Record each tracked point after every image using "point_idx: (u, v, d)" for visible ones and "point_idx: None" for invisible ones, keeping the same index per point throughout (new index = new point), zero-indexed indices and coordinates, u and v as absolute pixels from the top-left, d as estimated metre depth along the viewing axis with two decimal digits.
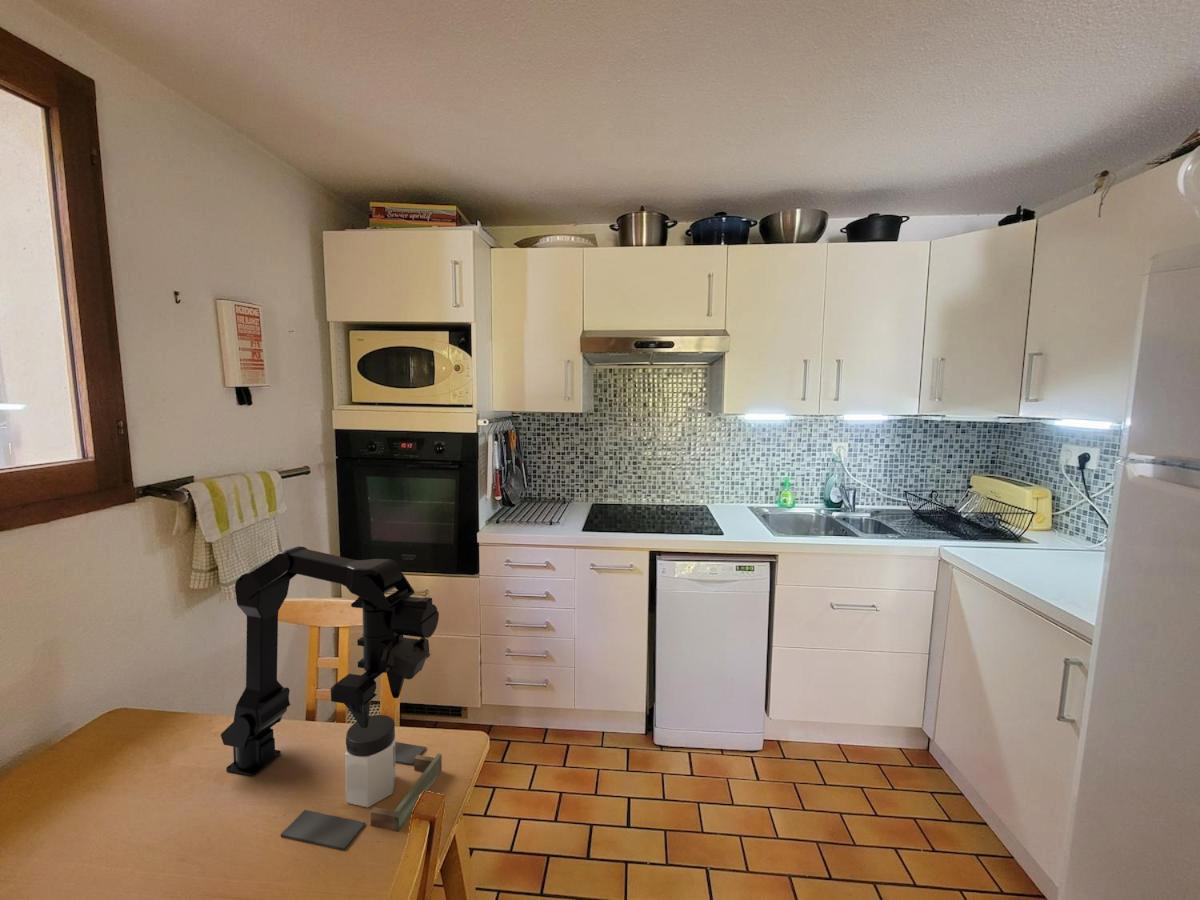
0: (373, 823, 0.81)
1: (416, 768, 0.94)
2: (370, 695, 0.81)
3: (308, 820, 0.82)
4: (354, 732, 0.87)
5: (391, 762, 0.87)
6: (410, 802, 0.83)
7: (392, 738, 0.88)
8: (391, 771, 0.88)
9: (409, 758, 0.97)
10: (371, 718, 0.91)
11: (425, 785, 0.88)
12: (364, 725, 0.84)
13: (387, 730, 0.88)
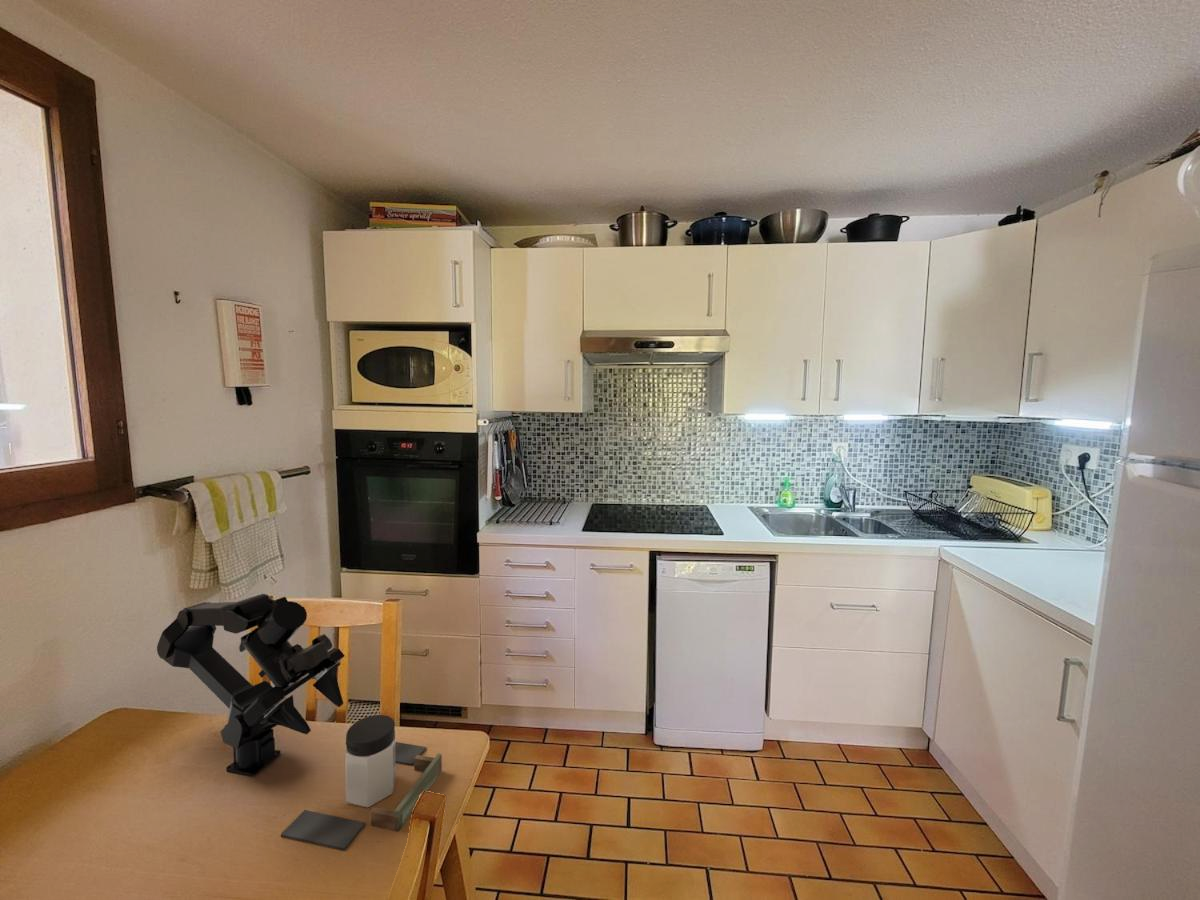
0: (373, 823, 0.81)
1: (416, 768, 0.94)
2: (279, 698, 0.83)
3: (308, 820, 0.82)
4: (354, 732, 0.87)
5: (391, 762, 0.87)
6: (410, 802, 0.83)
7: (392, 738, 0.88)
8: (391, 771, 0.88)
9: (409, 758, 0.97)
10: (371, 718, 0.91)
11: (425, 785, 0.88)
12: (305, 729, 0.86)
13: (387, 730, 0.88)
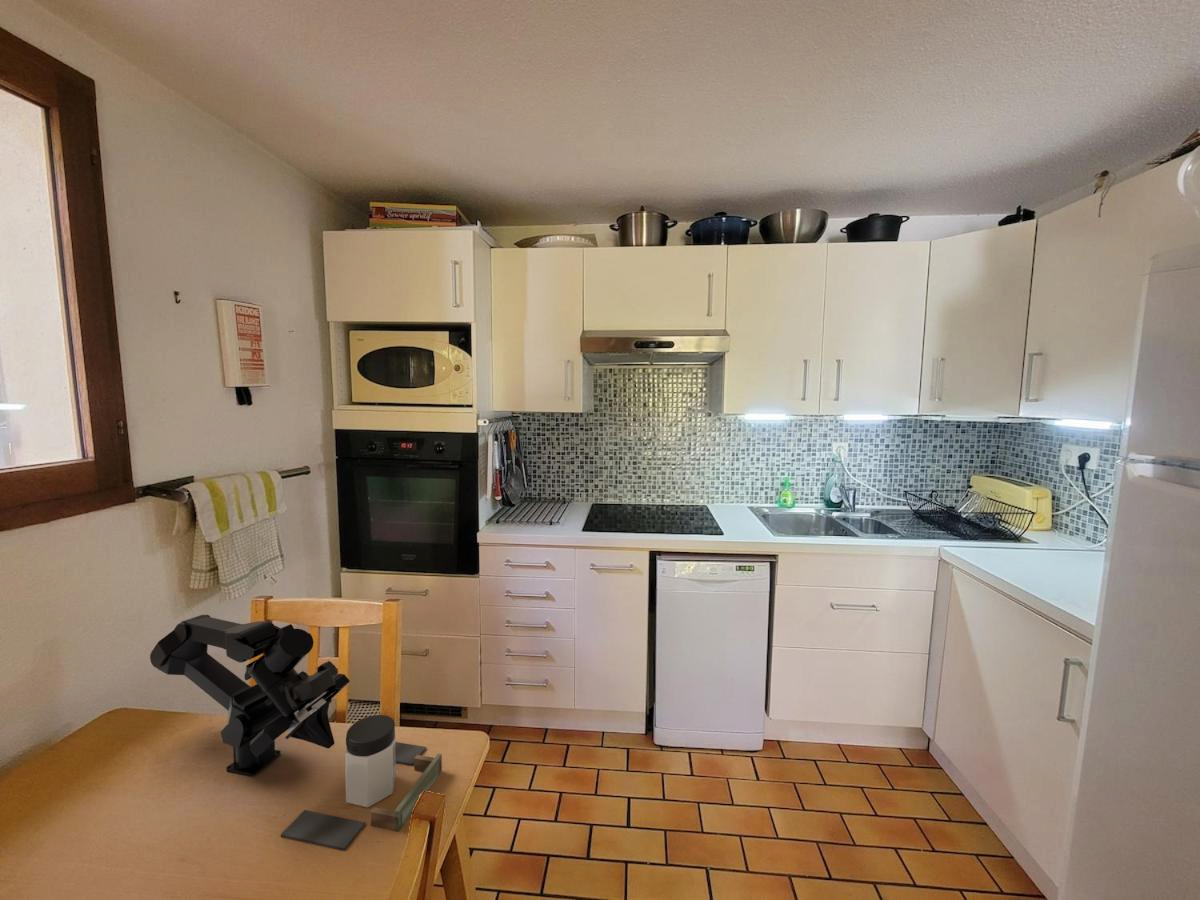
0: (373, 823, 0.81)
1: (416, 768, 0.94)
2: (285, 728, 0.83)
3: (308, 820, 0.82)
4: (354, 732, 0.87)
5: (391, 762, 0.87)
6: (410, 802, 0.83)
7: (392, 738, 0.88)
8: (391, 771, 0.88)
9: (409, 758, 0.97)
10: (371, 718, 0.91)
11: (425, 785, 0.88)
12: (328, 744, 0.89)
13: (387, 730, 0.88)
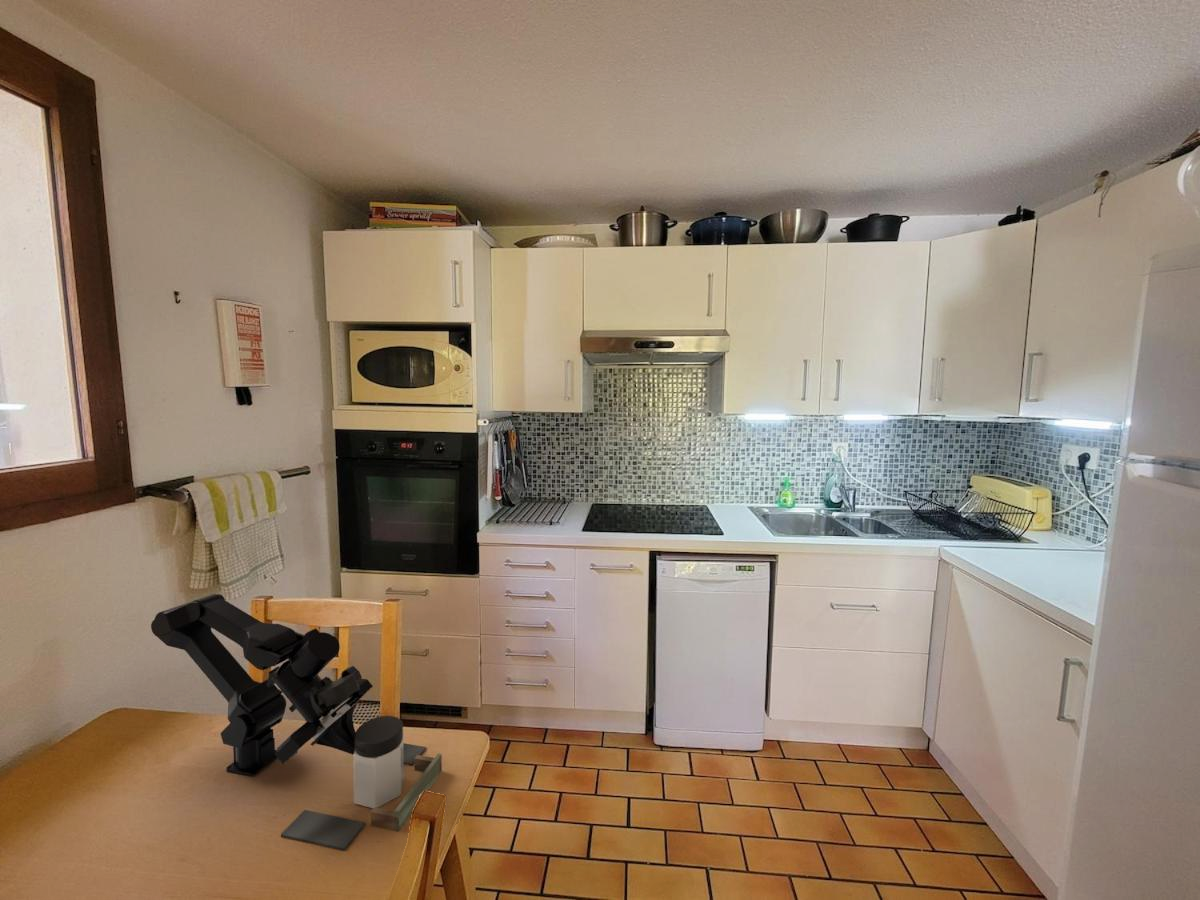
0: (373, 823, 0.81)
1: (416, 768, 0.94)
2: (311, 734, 0.82)
3: (308, 820, 0.82)
4: (362, 733, 0.87)
5: (399, 764, 0.87)
6: (410, 802, 0.83)
7: (400, 740, 0.88)
8: (399, 773, 0.87)
9: (409, 758, 0.97)
10: (379, 719, 0.91)
11: (425, 785, 0.88)
12: (353, 750, 0.88)
13: (395, 731, 0.87)
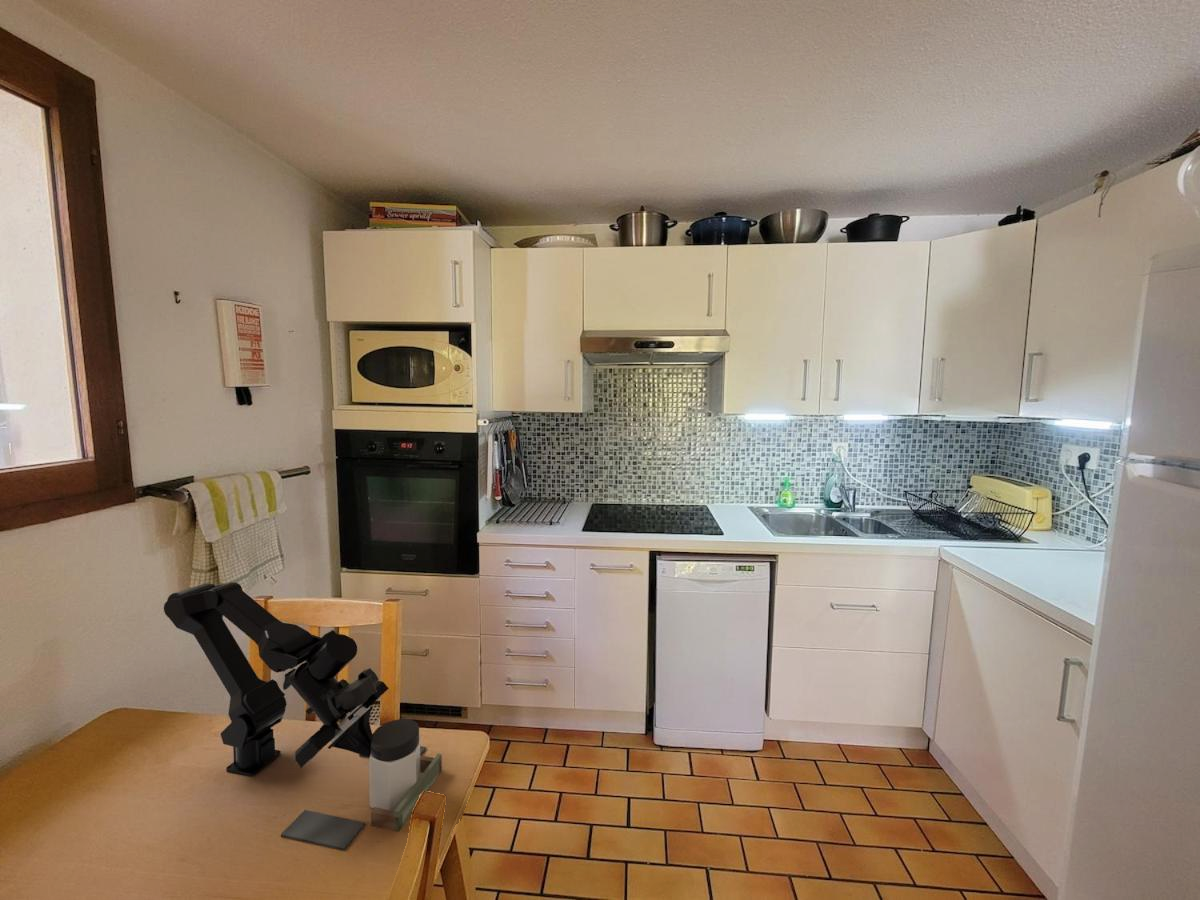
0: (373, 823, 0.81)
1: None
2: (330, 737, 0.82)
3: (308, 820, 0.82)
4: (379, 736, 0.86)
5: (414, 769, 0.86)
6: (410, 802, 0.83)
7: (416, 744, 0.87)
8: (414, 778, 0.86)
9: None
10: (396, 722, 0.90)
11: (425, 785, 0.88)
12: None
13: (411, 736, 0.86)
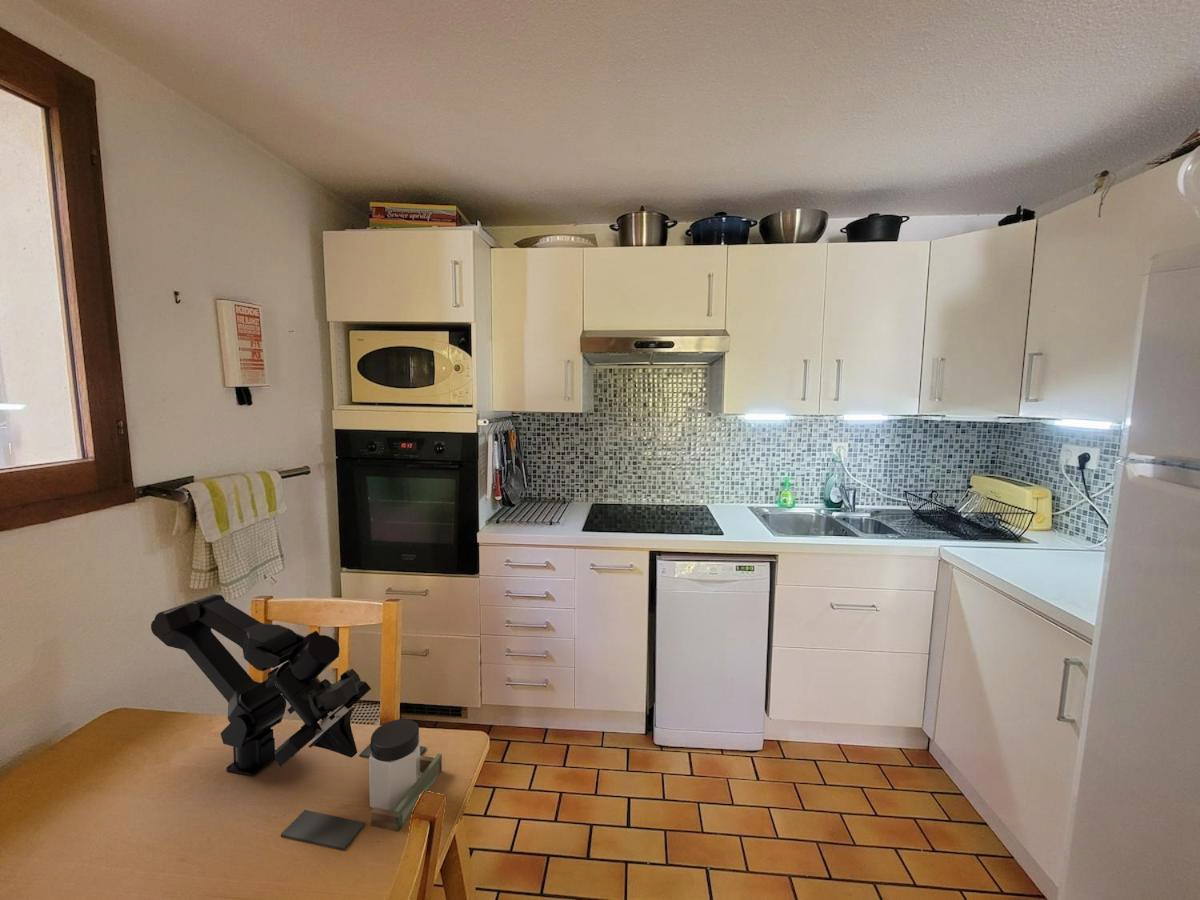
0: (373, 823, 0.81)
1: None
2: (310, 737, 0.83)
3: (308, 820, 0.82)
4: (378, 736, 0.86)
5: (414, 769, 0.86)
6: (410, 802, 0.83)
7: (416, 744, 0.87)
8: (414, 778, 0.86)
9: None
10: (396, 722, 0.90)
11: (425, 785, 0.88)
12: (351, 753, 0.89)
13: (411, 736, 0.86)
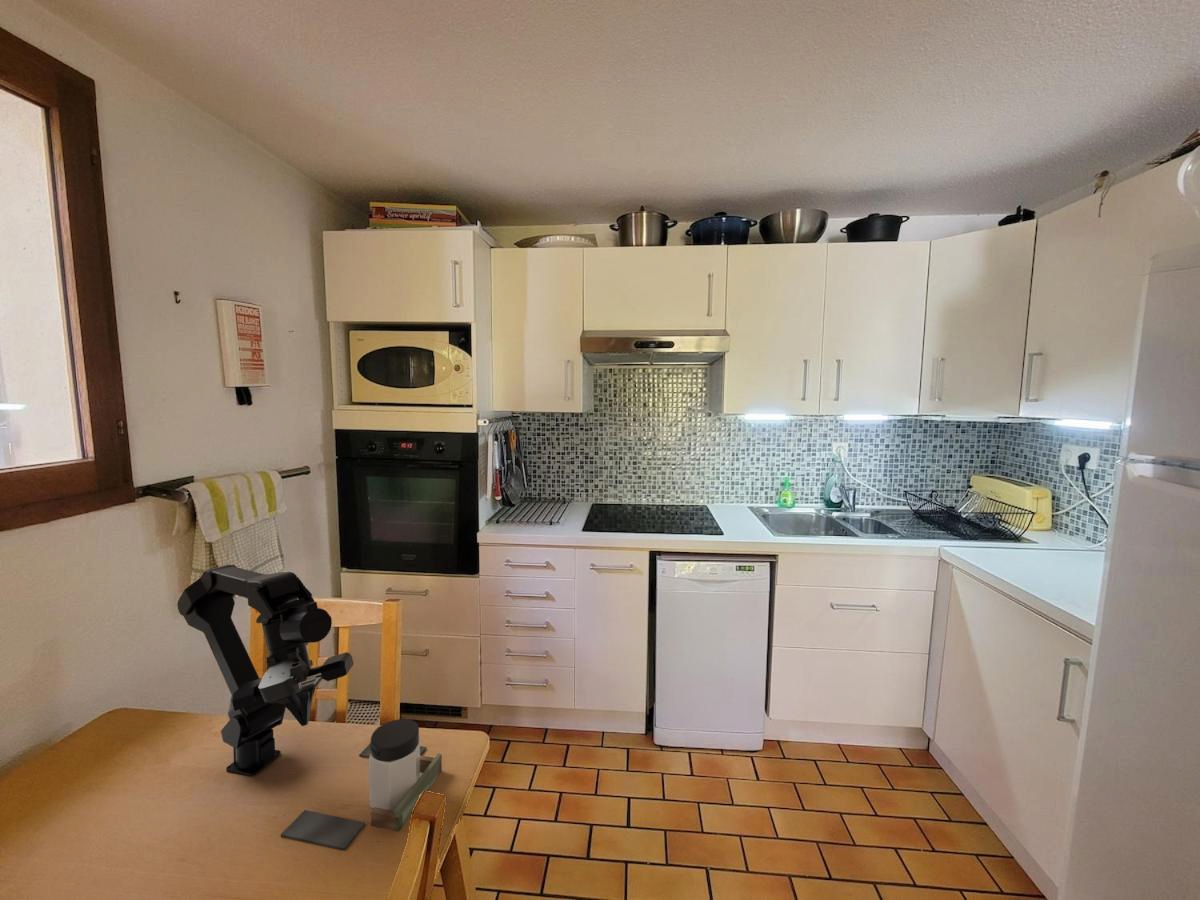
0: (373, 823, 0.81)
1: None
2: (245, 705, 0.84)
3: (308, 820, 0.82)
4: (378, 736, 0.86)
5: (414, 769, 0.86)
6: (410, 802, 0.83)
7: (415, 744, 0.87)
8: (414, 778, 0.86)
9: None
10: (396, 722, 0.90)
11: (425, 785, 0.88)
12: None
13: (411, 736, 0.86)
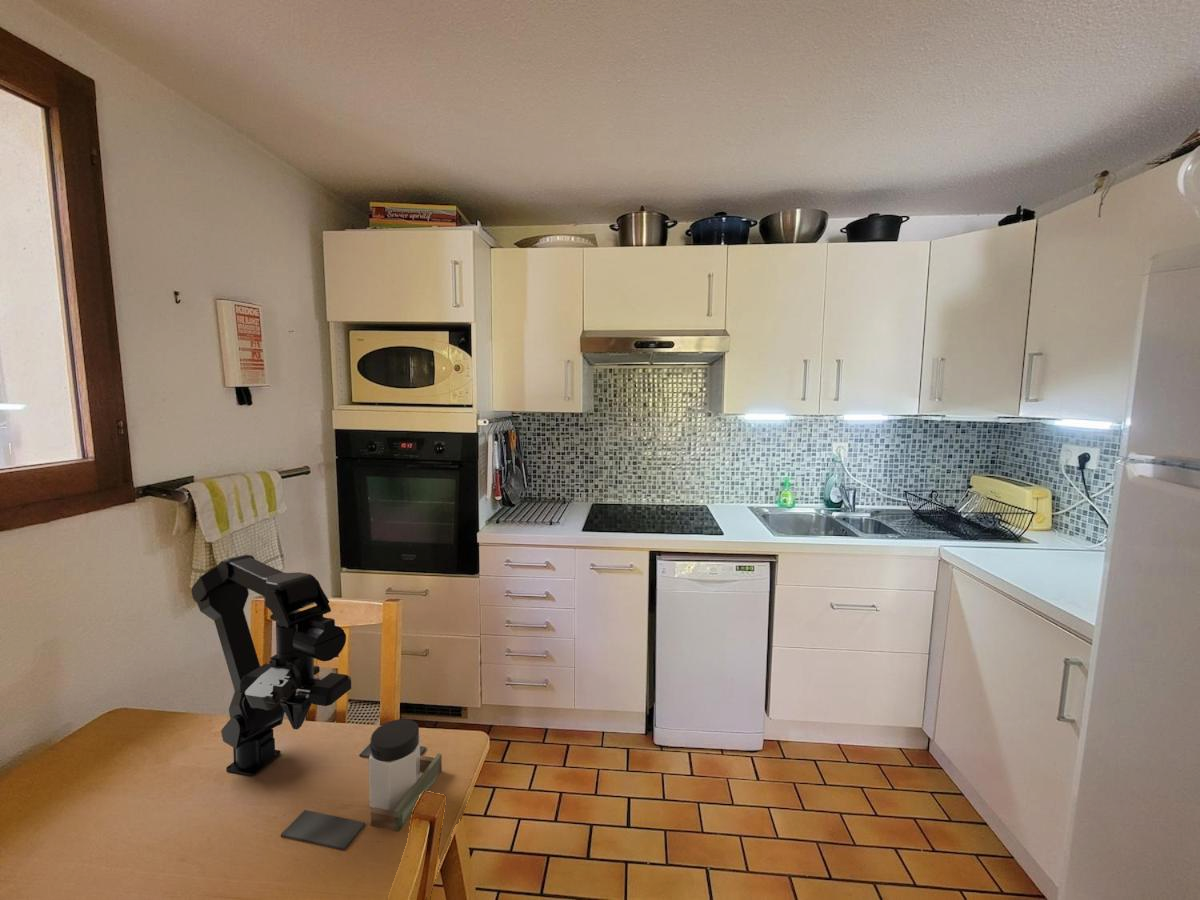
0: (373, 823, 0.81)
1: None
2: None
3: (308, 820, 0.82)
4: (378, 736, 0.86)
5: (414, 769, 0.86)
6: (410, 802, 0.83)
7: (415, 744, 0.87)
8: (414, 778, 0.86)
9: None
10: (396, 722, 0.90)
11: (425, 785, 0.88)
12: None
13: (410, 736, 0.86)
